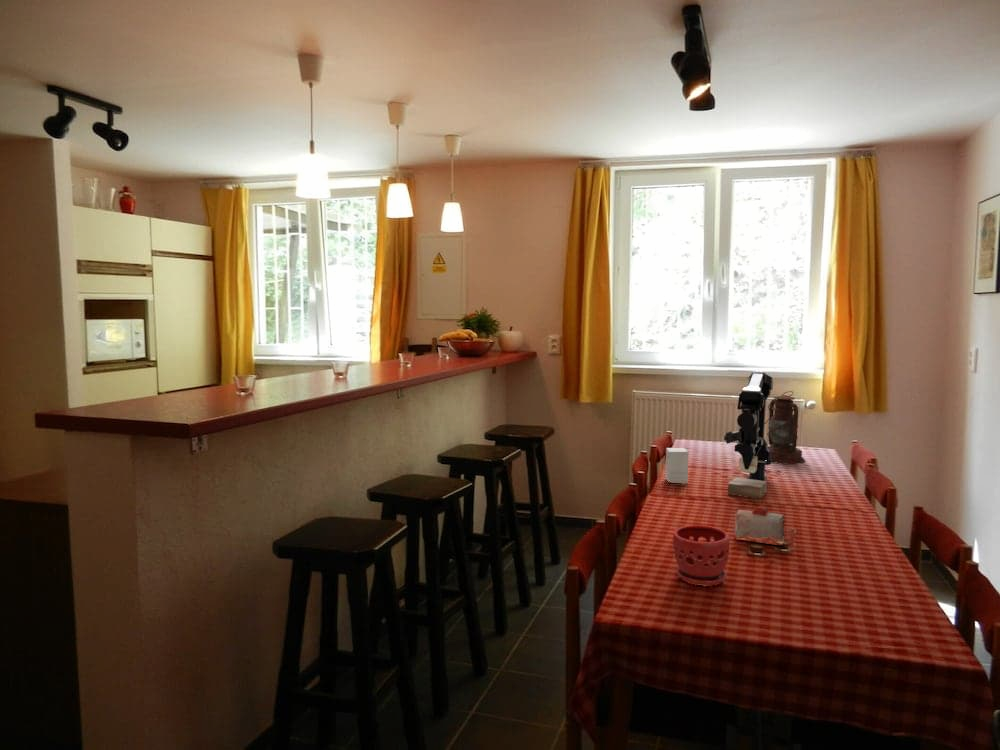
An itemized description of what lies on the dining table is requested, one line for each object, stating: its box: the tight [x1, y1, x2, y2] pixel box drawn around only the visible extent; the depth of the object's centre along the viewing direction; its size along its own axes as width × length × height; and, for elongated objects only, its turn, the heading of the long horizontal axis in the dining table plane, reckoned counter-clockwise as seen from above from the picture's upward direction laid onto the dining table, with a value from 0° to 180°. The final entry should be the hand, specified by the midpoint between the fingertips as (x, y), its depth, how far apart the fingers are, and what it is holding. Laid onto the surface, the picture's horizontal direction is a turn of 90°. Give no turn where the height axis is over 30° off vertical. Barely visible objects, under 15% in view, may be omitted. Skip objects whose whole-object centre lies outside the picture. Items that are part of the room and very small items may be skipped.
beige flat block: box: [727, 477, 768, 500], centre depth 246 cm, size 11×11×4 cm
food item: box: [734, 505, 786, 539], centre depth 196 cm, size 14×8×10 cm, turn 65°
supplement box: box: [665, 447, 689, 483], centre depth 262 cm, size 7×7×13 cm
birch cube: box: [738, 455, 757, 473], centre depth 246 cm, size 5×5×5 cm
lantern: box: [765, 390, 806, 465], centre depth 301 cm, size 19×19×30 cm
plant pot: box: [672, 524, 730, 585], centre depth 168 cm, size 13×13×12 cm
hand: (748, 467), depth 246 cm, fingers closed on birch cube, 5 cm apart
